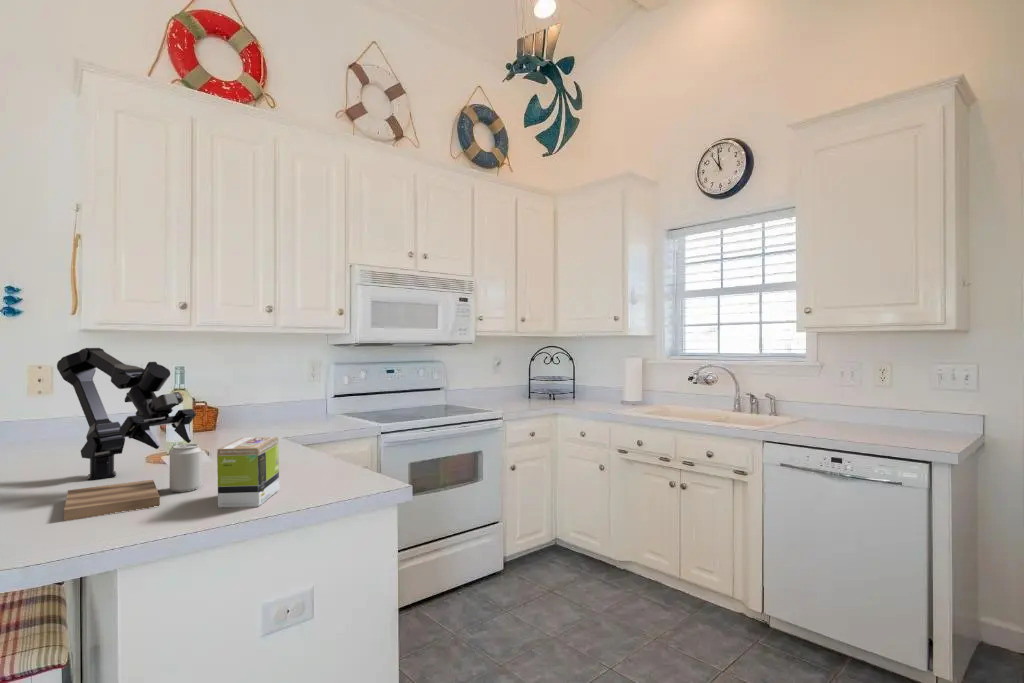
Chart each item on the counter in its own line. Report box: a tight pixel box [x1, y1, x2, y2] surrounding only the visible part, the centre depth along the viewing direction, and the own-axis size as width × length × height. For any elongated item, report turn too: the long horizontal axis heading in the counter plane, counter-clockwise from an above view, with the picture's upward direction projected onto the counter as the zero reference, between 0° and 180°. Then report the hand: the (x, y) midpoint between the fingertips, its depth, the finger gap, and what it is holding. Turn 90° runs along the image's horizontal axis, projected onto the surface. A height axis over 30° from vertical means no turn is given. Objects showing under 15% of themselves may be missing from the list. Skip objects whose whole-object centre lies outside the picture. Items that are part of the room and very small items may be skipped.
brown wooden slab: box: [63, 479, 161, 522], centre depth 135 cm, size 20×18×3 cm
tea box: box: [216, 436, 280, 508], centre depth 139 cm, size 15×10×15 cm, turn 5°
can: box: [169, 443, 203, 492], centre depth 148 cm, size 8×8×12 cm
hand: (174, 444), depth 149 cm, fingers open, 9 cm apart
